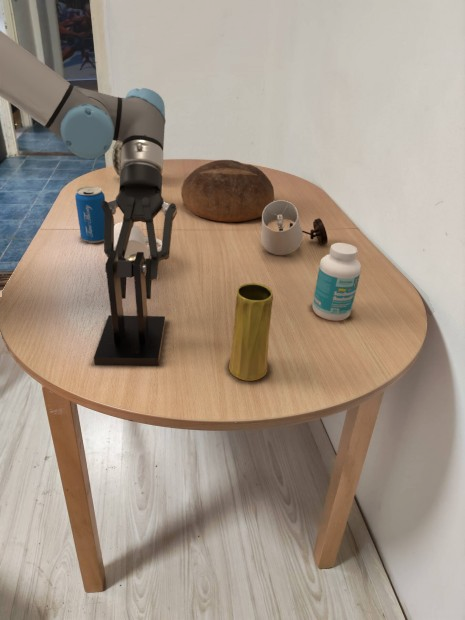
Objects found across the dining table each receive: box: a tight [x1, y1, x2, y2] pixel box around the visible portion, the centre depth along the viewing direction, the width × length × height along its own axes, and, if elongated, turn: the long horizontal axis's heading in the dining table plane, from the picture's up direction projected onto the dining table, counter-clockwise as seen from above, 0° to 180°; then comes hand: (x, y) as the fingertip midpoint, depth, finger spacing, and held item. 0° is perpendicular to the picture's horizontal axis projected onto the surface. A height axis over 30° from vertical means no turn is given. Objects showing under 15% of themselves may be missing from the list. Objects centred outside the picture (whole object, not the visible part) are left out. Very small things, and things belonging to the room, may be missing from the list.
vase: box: [228, 282, 274, 382], centre depth 68 cm, size 6×6×14 cm
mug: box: [114, 221, 162, 260], centre depth 98 cm, size 12×10×8 cm
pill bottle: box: [311, 242, 362, 322], centre depth 84 cm, size 8×7×14 cm
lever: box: [117, 254, 146, 278], centre depth 74 cm, size 13×4×4 cm, turn 2°
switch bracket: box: [93, 251, 166, 366], centre depth 72 cm, size 12×10×16 cm
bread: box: [180, 159, 275, 223], centre depth 129 cm, size 26×27×13 cm
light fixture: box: [260, 199, 329, 256], centre depth 108 cm, size 10×16×17 cm
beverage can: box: [74, 186, 106, 244], centre depth 107 cm, size 6×6×12 cm
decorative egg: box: [111, 141, 122, 177], centre depth 145 cm, size 12×12×15 cm
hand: (134, 296), depth 78 cm, fingers closed on lever, 4 cm apart
